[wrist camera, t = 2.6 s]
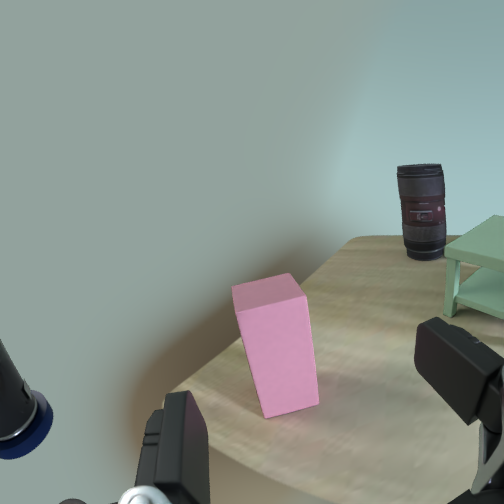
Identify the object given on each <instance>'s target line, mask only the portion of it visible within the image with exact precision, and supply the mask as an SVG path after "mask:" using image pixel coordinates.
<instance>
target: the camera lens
mask: <svg viewBox="0 0 504 504" xmlns="http://www.w3.org/2000/svg"><path fill="white" fill-rule="evenodd" d="M397 171H398V172H397V179H398V188H399V195H400V199H401V210H402V229H403V238H404V245H405V247H406V248H407V255H408V256H409V257H410V258H412V259H415V260H423V261H426V260H434V259H437V258H439V257H441V256H442V255H443V248H444V246H445V244H446V215H445V207H444V205H445V199H444V198H445V183H444V174H443V170H442V167H441V164H417V165H403V166H398V167H397Z"/></svg>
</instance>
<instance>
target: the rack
mask: <svg viewBox="0 0 504 504" xmlns="http://www.w3.org/2000/svg"><path fill="white" fill-rule="evenodd" d="M444 256H445V257H447V268H446V288H445V301H444V311H443V315H446V316H448V317H452V316H453V315H454V314H456V309H457V303H460V304H462V305H465V306H468V307H470V308H473V309H476V310H479V311H481V312H484V313H487V314H489V315H492V316H495V317H497V318H500V319H503V320H504V216H498V215H493V216H492V217H490V218H489V219H487V220H486V221H484V222H483V223H481V224H480V225H478V226H477V227H475V228H473V229H472V230H470V231H469V232H467V233H466V234H464V235H462V236H461V237H459V238H457V239H456V240H454V241H452V242H451V243H449V244H447V245H446V246H445V255H444ZM460 261H462V262H466V263H470V264H474V265H478V266H481V267H480V268H479V269H478V270H477V271H476V272H475V273H473V274H472V275H471V276H470V277H469V278H468V279H467V280H465V281H464V282H463V283H462V284H461V285H460V286H459V277H460Z"/></svg>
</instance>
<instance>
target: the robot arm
mask: <svg viewBox="0 0 504 504" xmlns="http://www.w3.org/2000/svg"><path fill="white" fill-rule="evenodd" d="M414 363H415V366H416V369H417V371H418V372H419V374H420V375H421V376H422V377H423V378H424V379H425V380H426V381H427V382H428V383H429V384H430V385H431V386H432V387H433V388H434V389H435V391H436V392H437V393H438V394H439V395H440V396H441V397H442V398H443V399H444V400H445V401H446V402H447V403H448V405H449V406H450V407H451V408H452V409H453V410H454V411H455V412H456V413H457V414H458V415H459V417H460V418H461V419H462V420H463V421H464V422H465V423H466V424H467V425H468V426H469V425H470V424H471V423H473V422H474V421H476V420H477V419H479V420H480V421H481V424H480V427H479V457H478V470H477V474H476V477H475V479H474V482H473V485H472V488H471V491H470V489H468V490H467V491H465V492H464V493H463V494H461V495H460V496H458V497H457V498H455V499H454V500H452V501H451V502H449V503H447V504H504V358H503V357H501V356H500V355H499V354H497V353H496V352H495V351H493V350H492V349H491V348H489V347H488V346H486V345H485V344H484V343H482V342H480V340H478V339H477V338H476V337H472V335H471V334H470V333H469V332H467V331H466V330H464V329H463V328H460V327H457V326H454V325H451V324H450V325H449V324H447V323H446V322H445V321H443V320H442V319H440V318H439V317H434V318H432V319H430V320H428V321H425V322H423V323H421V324H419V325H418V327H417V333H416V345H415V354H414ZM38 409H39V406H38V402H37V400H36V399H35V397H34V396H33V395H32V394H31V392H30V388H29V386H28V385H27V383H26V381H25V380H24V381H23V379H22V378H21V376H20V374H19V373H18V371H17V369H16V367H15V366H14V364H13V362H12V360H11V359H10V357H9V355H8V353H7V351H6V349H5V348H4V345H3V343H2V341H1V339H0V443H3V442H8V441H11V440H14V439H16V438H17V437H19V436H20V435H22V434H23V433H24V432H25V431H26V430H27V429H28V428H29V427H30V426H31V425H32V423H33V422H34V420H35V418H36V416H37V414H38ZM144 434H145V436H144V438H143V447H142V448H141V454H140V459H139V464H138V470H137V475H136V481H135V486H134V487H133V488H131V489H129V490H127V491H126V492H125V493H124V494H123V495H122V496H121V497H120V499H119V501H118V502H116V503H112V504H210V485H209V452H208V431H207V427H206V423H205V421H204V418H203V416H202V414H201V412H200V410H199V408H198V406H197V404H196V402H195V400H194V397H193V395H192V393H191V392H190V391H189V390H188V391H181V392H175V393H168V394H166V397H165V403H164V409H161V410H155V411H154V413H153V414H152V415H151V417H150V418H149V420H148V421H147V424H146V429H145V433H144ZM59 504H86V503H85V502H83V501H81V500H79V499H67V500H64V501H62V502H61V503H59Z"/></svg>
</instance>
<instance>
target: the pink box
mask: <svg viewBox="0 0 504 504" xmlns="http://www.w3.org/2000/svg"><path fill="white" fill-rule="evenodd" d="M231 288H232V295H233V302H234V308H235V314H236V318H237V322H238V326H239V329H240V333H241V337H242V341H243V344H244V348H245V352H246V356H247V359H248V363H249V366H250V370H251V374H252V377H253V381H254V384H255V388H256V391H257V395H258V398H259V402H260V405H261V409H262V412H263V416H264V418H265V419H266V418H270V417H274V416H278V415H282V414H286V413H290V412H294V411H297V410H301V409H305V408H308V407H311V406H315V405H318V404H319V395H318V386H317V376H316V367H315V359H314V350H313V342H312V334H311V327H310V319H309V312H308V305H307V298H306V295H305V293H304V292H303V291H302V289H301V288H300V287H299V285H298V284H297V283H296V281H295V280H294V279H293V277H292V276H291V274H290V273H286V274H281V275H278V276H273V277H269V278H265V279H261V280H256V281H252V282H248V283H244V284H239V285H235V286H232V287H231Z"/></svg>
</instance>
